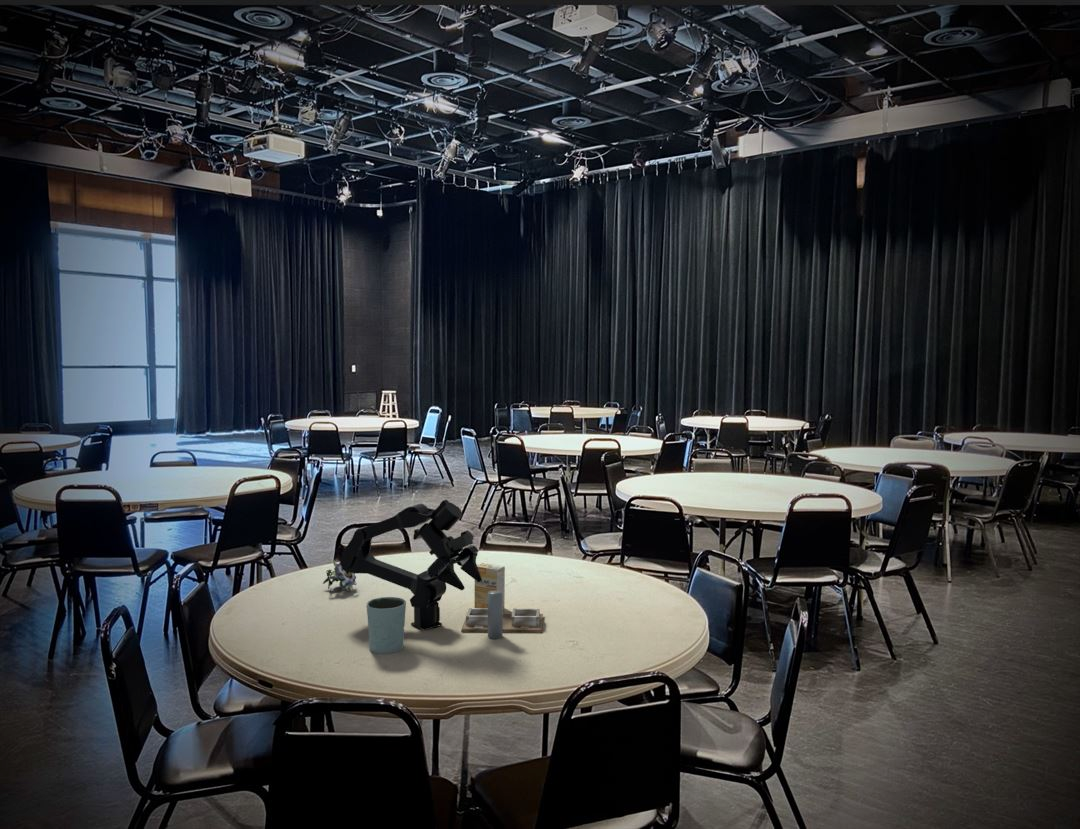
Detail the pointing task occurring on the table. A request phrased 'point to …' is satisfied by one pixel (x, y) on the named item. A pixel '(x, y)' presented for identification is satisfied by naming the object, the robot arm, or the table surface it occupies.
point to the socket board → (504, 621)
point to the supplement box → (489, 584)
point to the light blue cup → (386, 624)
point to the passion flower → (341, 577)
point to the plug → (495, 615)
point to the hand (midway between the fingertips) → (472, 585)
